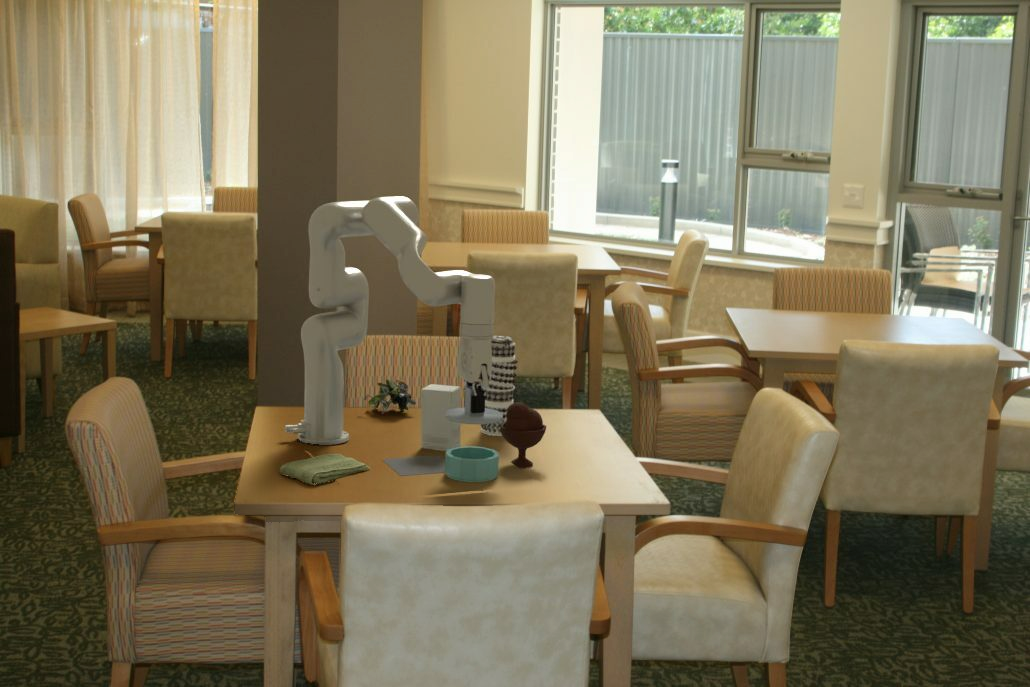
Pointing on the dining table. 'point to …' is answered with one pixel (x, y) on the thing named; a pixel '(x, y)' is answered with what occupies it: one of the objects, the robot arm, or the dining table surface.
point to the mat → (417, 465)
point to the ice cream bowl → (522, 431)
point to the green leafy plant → (391, 395)
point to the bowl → (471, 464)
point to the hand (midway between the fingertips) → (474, 409)
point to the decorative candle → (500, 381)
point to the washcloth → (322, 468)
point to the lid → (472, 418)
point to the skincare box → (439, 417)
